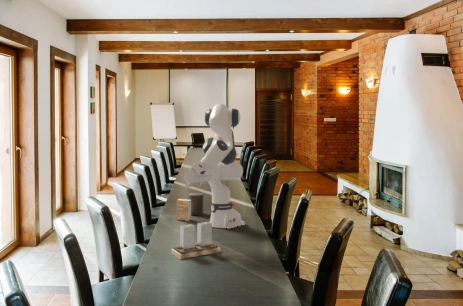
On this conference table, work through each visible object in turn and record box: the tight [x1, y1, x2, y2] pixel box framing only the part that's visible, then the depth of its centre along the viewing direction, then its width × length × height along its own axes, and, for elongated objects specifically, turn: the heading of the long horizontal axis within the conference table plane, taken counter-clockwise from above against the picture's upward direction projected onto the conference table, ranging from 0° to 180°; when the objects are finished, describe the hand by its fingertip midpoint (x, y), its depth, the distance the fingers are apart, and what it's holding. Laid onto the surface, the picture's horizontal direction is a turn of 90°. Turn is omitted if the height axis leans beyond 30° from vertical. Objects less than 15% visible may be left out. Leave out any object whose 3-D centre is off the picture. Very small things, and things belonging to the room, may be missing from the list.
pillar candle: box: [188, 192, 204, 216], centre depth 294 cm, size 10×10×15 cm
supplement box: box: [176, 198, 192, 222], centre depth 278 cm, size 8×5×13 cm, turn 73°
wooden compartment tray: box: [170, 242, 221, 260], centre depth 216 cm, size 22×10×3 cm, turn 122°
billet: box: [179, 223, 196, 251], centre depth 213 cm, size 6×4×12 cm, turn 123°
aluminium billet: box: [196, 221, 213, 248], centre depth 218 cm, size 6×4×12 cm, turn 123°
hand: (192, 186), depth 235 cm, fingers open, 8 cm apart
